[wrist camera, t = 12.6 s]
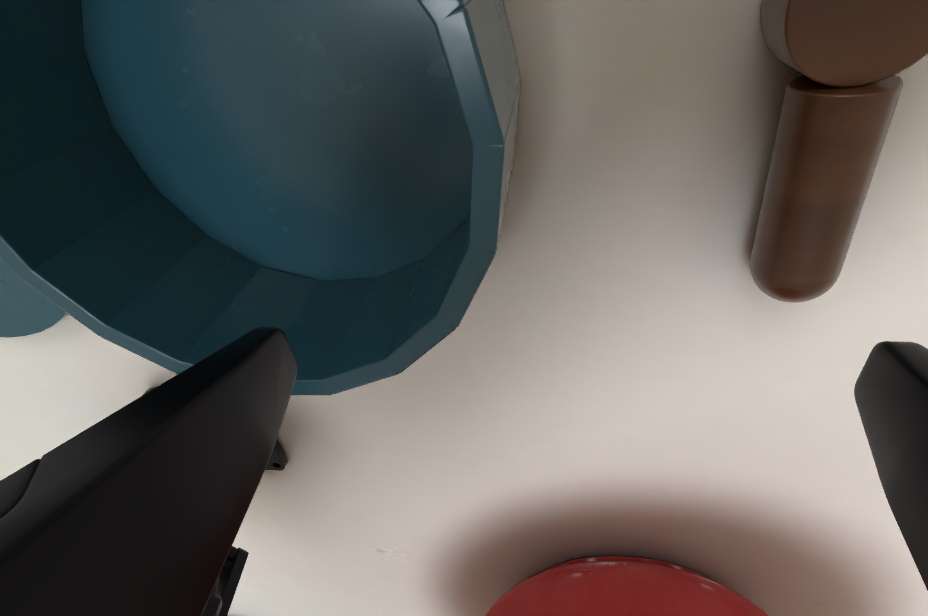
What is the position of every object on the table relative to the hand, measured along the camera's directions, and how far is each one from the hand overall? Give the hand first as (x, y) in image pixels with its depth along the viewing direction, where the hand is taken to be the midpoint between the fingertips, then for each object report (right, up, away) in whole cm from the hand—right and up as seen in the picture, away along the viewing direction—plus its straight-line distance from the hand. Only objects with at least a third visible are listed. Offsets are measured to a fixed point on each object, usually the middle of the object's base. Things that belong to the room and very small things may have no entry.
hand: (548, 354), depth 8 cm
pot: (-7, +8, +10) cm, 14 cm away
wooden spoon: (+9, +7, +7) cm, 14 cm away
